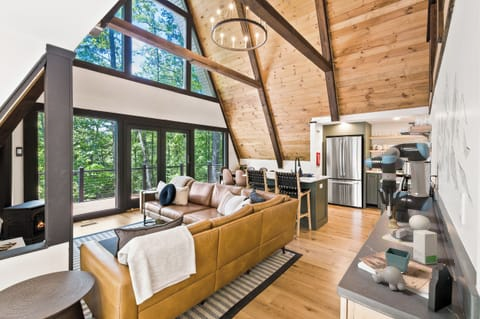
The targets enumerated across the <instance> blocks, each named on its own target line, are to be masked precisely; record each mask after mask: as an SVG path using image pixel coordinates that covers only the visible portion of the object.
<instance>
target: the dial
mask: <svg viewBox="0 0 480 319" xmlns="http://www.w3.org/2000/svg"><path fill="white" fill-rule="evenodd" d="M392 232H393V236H394V237H395V238H398V239H401V240H405V241H412V242H413V231H411V230H410V231H409V230H407V229H406V228H400V229H394V230H393V231H392Z"/></svg>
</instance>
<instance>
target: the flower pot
mask: <svg viewBox="0 0 480 319" xmlns="http://www.w3.org/2000/svg"><path fill="white" fill-rule="evenodd" d="M384 255H385V262H386V266H387V267H388V266H393V267H396V268H397V269H399V270H400V271H401V272H403V273H404V274H405V273H406V271H407V268H408V266H409V264H410V259H411V252H410V251H407V250H403V249H398V248H393V247H388V248H387V249H386V251H385V252H384Z"/></svg>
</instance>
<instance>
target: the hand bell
mask: <svg viewBox="0 0 480 319" xmlns="http://www.w3.org/2000/svg"><path fill="white" fill-rule="evenodd" d="M395 213H396V209H395V207H394V206H393V211H392V219H391V220H390V219H389V221H388V222H389V223H387V225H386V227H387V228H389V229H392V230H393V229H394V230H400V229H401V227H400V226H399V224H398V222H397V220H395Z"/></svg>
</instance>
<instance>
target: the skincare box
mask: <svg viewBox="0 0 480 319" xmlns="http://www.w3.org/2000/svg"><path fill="white" fill-rule="evenodd" d="M412 230H413V229H412ZM412 232H413V247H412V248H413V250H412V251H413V253H412V254H413V255H412V256H413V258H412V260H414V261H416V262H418V263H420V264H422V265H433V264H438V233H437V232H434V231H430V230H413V231H412Z"/></svg>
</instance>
